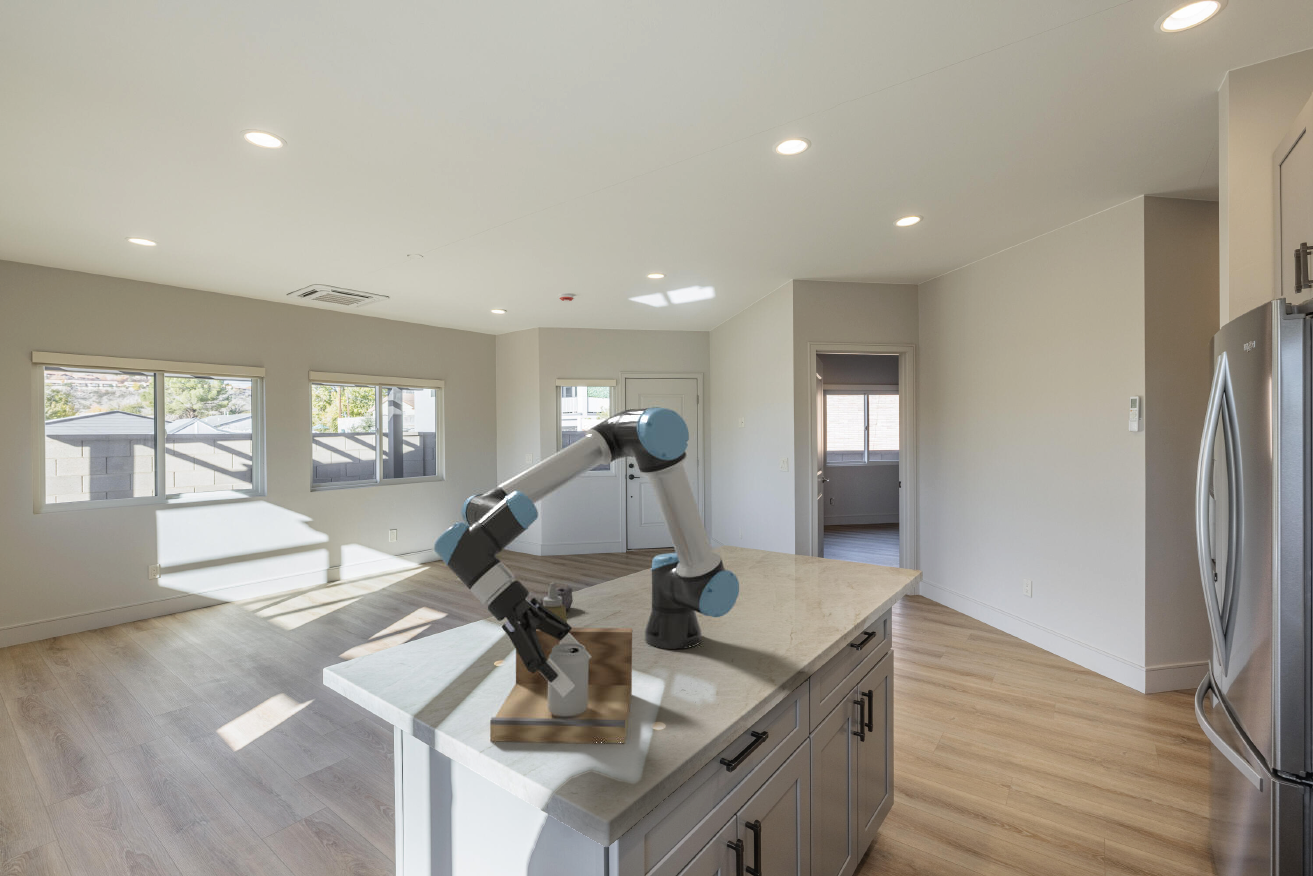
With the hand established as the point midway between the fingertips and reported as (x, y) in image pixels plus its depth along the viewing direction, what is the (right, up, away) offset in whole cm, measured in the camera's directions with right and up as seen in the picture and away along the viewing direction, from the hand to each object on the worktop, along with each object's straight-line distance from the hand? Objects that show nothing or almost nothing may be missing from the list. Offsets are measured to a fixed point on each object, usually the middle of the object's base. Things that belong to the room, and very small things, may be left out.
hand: (578, 675), depth 110 cm
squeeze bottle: (-11, -10, +36) cm, 39 cm away
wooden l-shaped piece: (-3, -10, +5) cm, 11 cm away
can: (-2, -7, 0) cm, 7 cm away
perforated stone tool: (-17, -10, +71) cm, 74 cm away
